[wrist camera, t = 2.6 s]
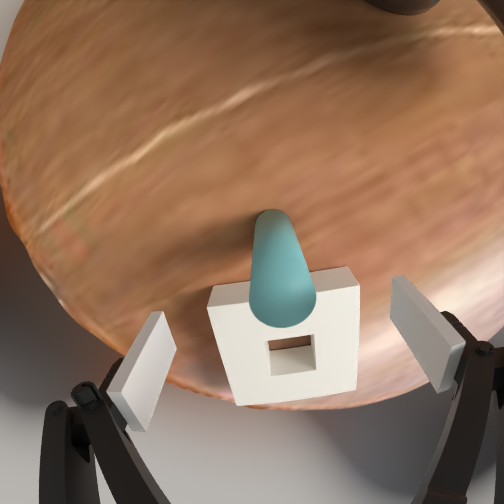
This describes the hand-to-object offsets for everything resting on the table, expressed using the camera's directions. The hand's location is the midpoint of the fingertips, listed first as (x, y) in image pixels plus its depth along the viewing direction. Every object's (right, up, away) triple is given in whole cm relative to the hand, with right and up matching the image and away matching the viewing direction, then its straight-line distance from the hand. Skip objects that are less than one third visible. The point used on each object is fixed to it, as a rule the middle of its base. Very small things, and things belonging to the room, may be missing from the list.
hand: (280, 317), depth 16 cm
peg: (+1, +6, +16) cm, 18 cm away
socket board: (+3, -7, +21) cm, 22 cm away
